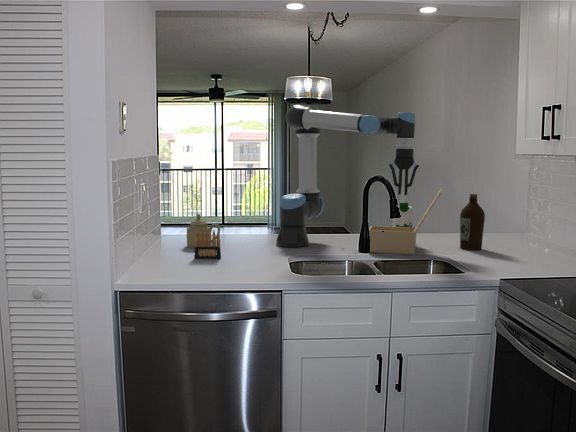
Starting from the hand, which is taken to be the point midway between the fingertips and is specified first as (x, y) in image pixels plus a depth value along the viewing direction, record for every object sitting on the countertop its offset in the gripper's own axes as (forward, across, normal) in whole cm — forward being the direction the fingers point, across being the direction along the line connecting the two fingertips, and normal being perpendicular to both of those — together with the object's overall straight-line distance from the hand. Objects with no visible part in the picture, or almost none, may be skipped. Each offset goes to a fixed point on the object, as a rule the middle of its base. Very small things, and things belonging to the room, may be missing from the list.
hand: (402, 202), depth 250 cm
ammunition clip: (+23, -75, -40) cm, 88 cm away
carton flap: (+3, +11, 0) cm, 11 cm away
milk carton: (+22, 0, +19) cm, 29 cm away
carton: (+22, -4, 0) cm, 22 cm away
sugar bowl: (+23, -88, -15) cm, 92 cm away
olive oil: (+22, +30, +17) cm, 41 cm away
